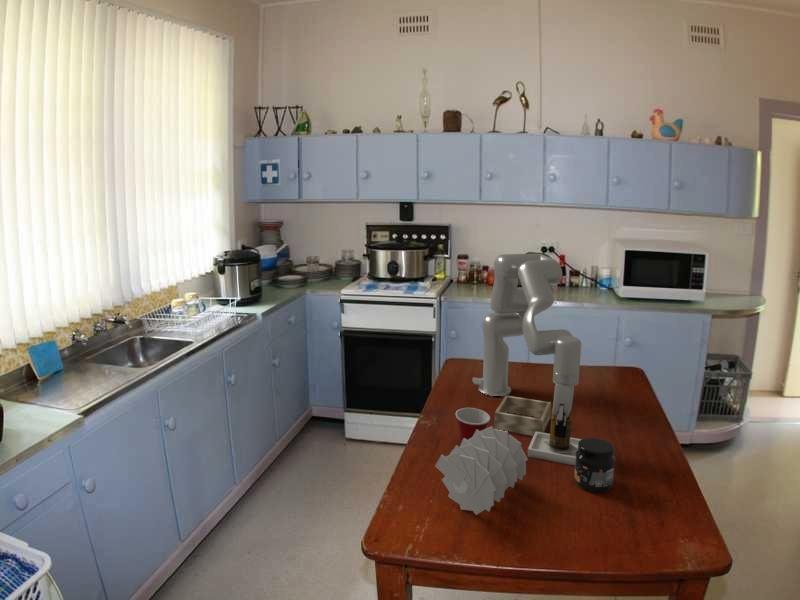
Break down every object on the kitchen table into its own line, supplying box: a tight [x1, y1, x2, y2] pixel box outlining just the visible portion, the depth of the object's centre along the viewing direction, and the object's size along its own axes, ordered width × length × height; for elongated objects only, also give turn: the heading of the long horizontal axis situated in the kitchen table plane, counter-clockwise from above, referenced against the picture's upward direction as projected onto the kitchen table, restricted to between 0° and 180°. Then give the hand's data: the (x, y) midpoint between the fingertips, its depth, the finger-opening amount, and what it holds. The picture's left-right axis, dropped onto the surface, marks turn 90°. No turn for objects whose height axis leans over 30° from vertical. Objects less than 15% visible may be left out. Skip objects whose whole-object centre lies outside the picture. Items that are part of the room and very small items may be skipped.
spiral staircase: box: [434, 425, 528, 516], centre depth 157 cm, size 18×18×25 cm
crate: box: [493, 395, 552, 437], centre depth 202 cm, size 16×16×6 cm
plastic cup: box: [455, 407, 491, 444], centre depth 183 cm, size 11×11×12 cm
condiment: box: [543, 411, 578, 453], centre depth 180 cm, size 7×8×12 cm
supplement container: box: [573, 437, 616, 494], centre depth 163 cm, size 10×10×12 cm
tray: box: [527, 432, 581, 467], centre depth 182 cm, size 18×13×2 cm
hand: (561, 431), depth 181 cm, fingers closed on condiment, 6 cm apart
